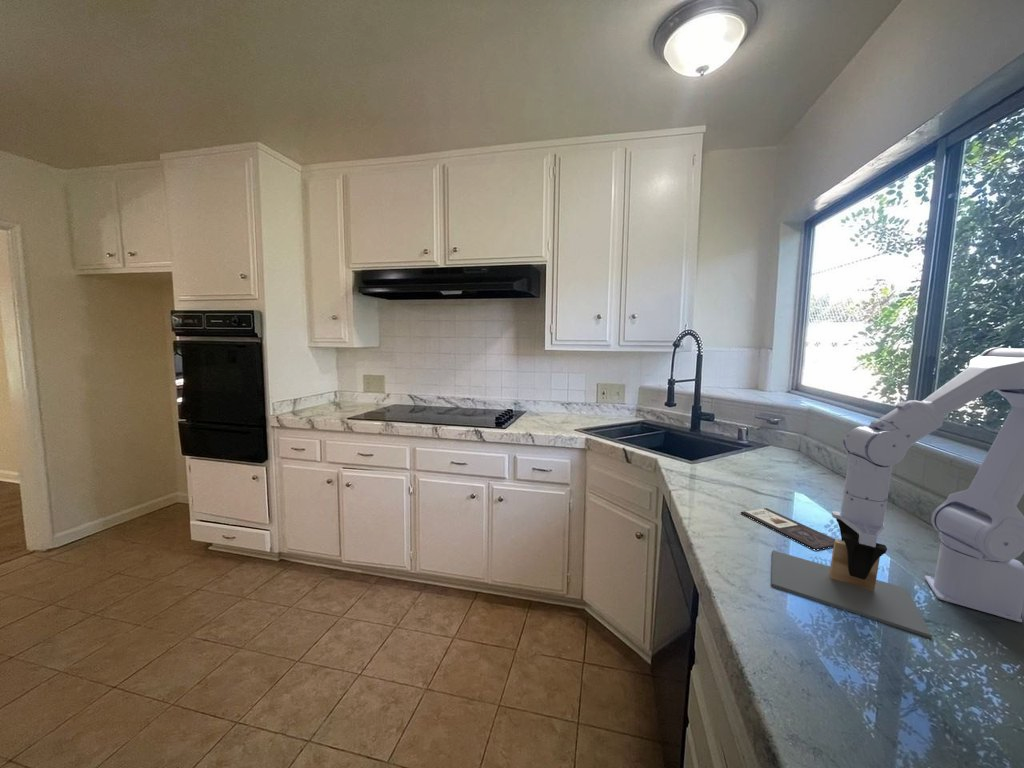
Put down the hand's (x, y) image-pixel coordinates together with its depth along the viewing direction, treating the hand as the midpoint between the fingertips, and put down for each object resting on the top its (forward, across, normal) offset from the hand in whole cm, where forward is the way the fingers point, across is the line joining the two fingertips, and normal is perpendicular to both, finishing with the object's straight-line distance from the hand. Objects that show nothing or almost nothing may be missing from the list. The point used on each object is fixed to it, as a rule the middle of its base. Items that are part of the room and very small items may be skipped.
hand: (853, 566), depth 70 cm
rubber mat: (+3, +3, -2) cm, 5 cm away
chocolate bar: (+4, -20, -9) cm, 22 cm away
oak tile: (+3, 0, 0) cm, 3 cm away
